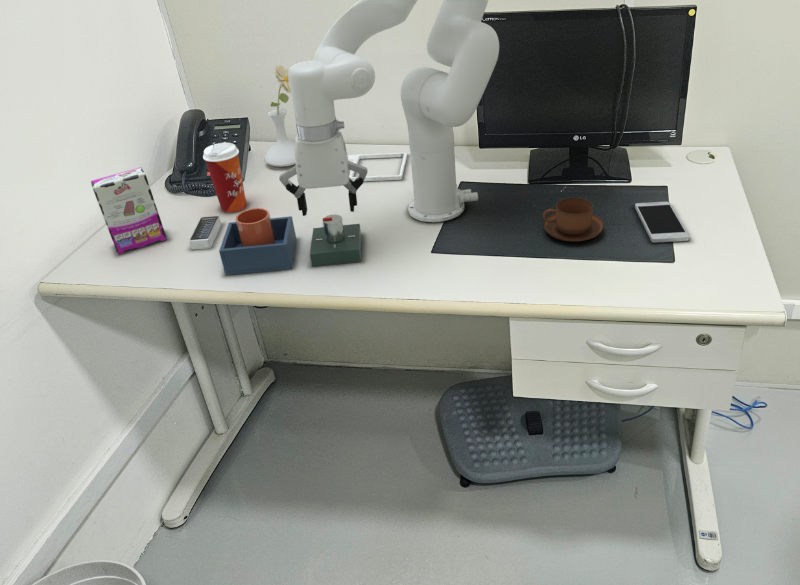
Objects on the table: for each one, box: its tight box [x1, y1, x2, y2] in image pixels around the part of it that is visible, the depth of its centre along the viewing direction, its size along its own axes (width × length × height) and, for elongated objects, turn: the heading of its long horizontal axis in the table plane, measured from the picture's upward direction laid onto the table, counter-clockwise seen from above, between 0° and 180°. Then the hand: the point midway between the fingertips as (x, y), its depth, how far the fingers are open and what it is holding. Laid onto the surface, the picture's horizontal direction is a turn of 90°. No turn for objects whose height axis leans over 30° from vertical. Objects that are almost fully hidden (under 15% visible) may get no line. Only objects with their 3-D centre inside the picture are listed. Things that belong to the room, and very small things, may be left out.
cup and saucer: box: [542, 197, 605, 243], centre depth 144 cm, size 12×12×6 cm
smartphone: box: [634, 201, 690, 244], centre depth 145 cm, size 7×15×1 cm, turn 177°
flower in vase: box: [264, 64, 296, 168], centre depth 184 cm, size 13×11×25 cm
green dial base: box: [309, 223, 362, 268], centre depth 148 cm, size 10×11×3 cm
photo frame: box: [347, 152, 408, 182], centre depth 181 cm, size 15×1×18 cm
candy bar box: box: [90, 166, 168, 255], centre depth 155 cm, size 11×5×16 cm, turn 117°
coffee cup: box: [202, 142, 247, 214], centre depth 167 cm, size 8×8×15 cm
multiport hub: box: [188, 215, 222, 251], centre depth 159 cm, size 4×11×2 cm, turn 179°
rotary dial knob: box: [322, 214, 345, 243], centre depth 146 cm, size 4×4×5 cm
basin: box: [218, 215, 297, 276], centre depth 148 cm, size 14×12×6 cm
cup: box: [235, 207, 276, 247], centre depth 146 cm, size 7×7×9 cm
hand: (328, 210), depth 143 cm, fingers open, 9 cm apart
